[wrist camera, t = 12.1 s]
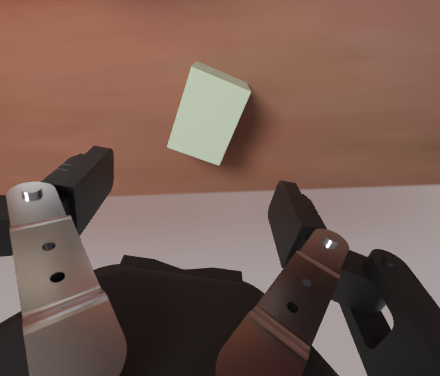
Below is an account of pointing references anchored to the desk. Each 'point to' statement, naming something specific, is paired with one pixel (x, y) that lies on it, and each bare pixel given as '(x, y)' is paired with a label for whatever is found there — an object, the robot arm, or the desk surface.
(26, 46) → the desk surface
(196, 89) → the sage brick
